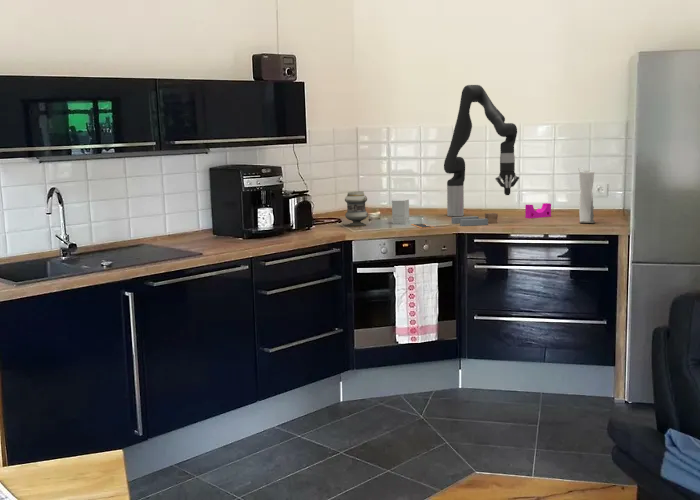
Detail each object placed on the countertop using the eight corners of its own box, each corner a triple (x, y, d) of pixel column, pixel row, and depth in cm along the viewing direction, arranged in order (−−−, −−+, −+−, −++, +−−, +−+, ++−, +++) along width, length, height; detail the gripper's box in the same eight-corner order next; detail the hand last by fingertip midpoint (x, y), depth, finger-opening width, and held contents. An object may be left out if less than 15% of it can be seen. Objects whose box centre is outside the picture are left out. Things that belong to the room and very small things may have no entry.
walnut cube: (484, 222, 421) (484, 213, 420) (493, 222, 422) (493, 213, 421) (488, 223, 416) (488, 214, 416) (497, 223, 417) (497, 213, 417)
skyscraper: (576, 222, 411) (577, 167, 407) (578, 221, 418) (579, 167, 414) (593, 222, 408) (594, 167, 404) (595, 221, 415) (596, 167, 411)
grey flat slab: (451, 223, 423) (451, 217, 423) (476, 221, 426) (476, 216, 425) (462, 226, 407) (462, 220, 407) (487, 224, 410) (487, 219, 410)
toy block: (543, 216, 449) (543, 202, 448) (550, 217, 443) (551, 203, 442) (522, 217, 442) (522, 204, 441) (529, 218, 436) (530, 205, 435)
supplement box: (409, 222, 429) (409, 199, 427) (404, 224, 423) (404, 200, 421) (397, 222, 432) (396, 199, 431) (391, 223, 426) (391, 200, 424)
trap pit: (411, 224, 419) (411, 224, 419) (423, 224, 421) (423, 223, 421) (421, 228, 402) (421, 227, 402) (434, 227, 403) (434, 227, 403)
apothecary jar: (341, 225, 424) (341, 191, 421) (362, 224, 428) (361, 190, 426) (350, 227, 413) (350, 192, 410) (372, 226, 417) (371, 191, 415)
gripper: (516, 161, 422) (516, 194, 424) (492, 162, 419) (492, 195, 421) (522, 161, 414) (522, 195, 417) (498, 162, 412) (498, 196, 414)
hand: (507, 195), depth 419 cm, fingers closed
